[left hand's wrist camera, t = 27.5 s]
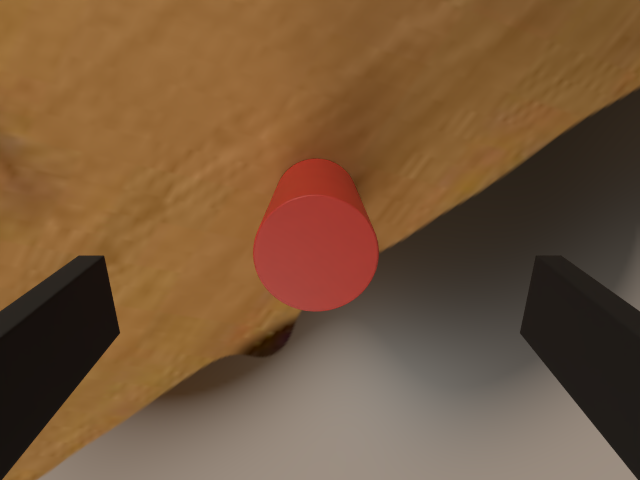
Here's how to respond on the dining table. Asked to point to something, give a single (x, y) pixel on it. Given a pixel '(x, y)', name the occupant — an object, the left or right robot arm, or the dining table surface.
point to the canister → (316, 239)
